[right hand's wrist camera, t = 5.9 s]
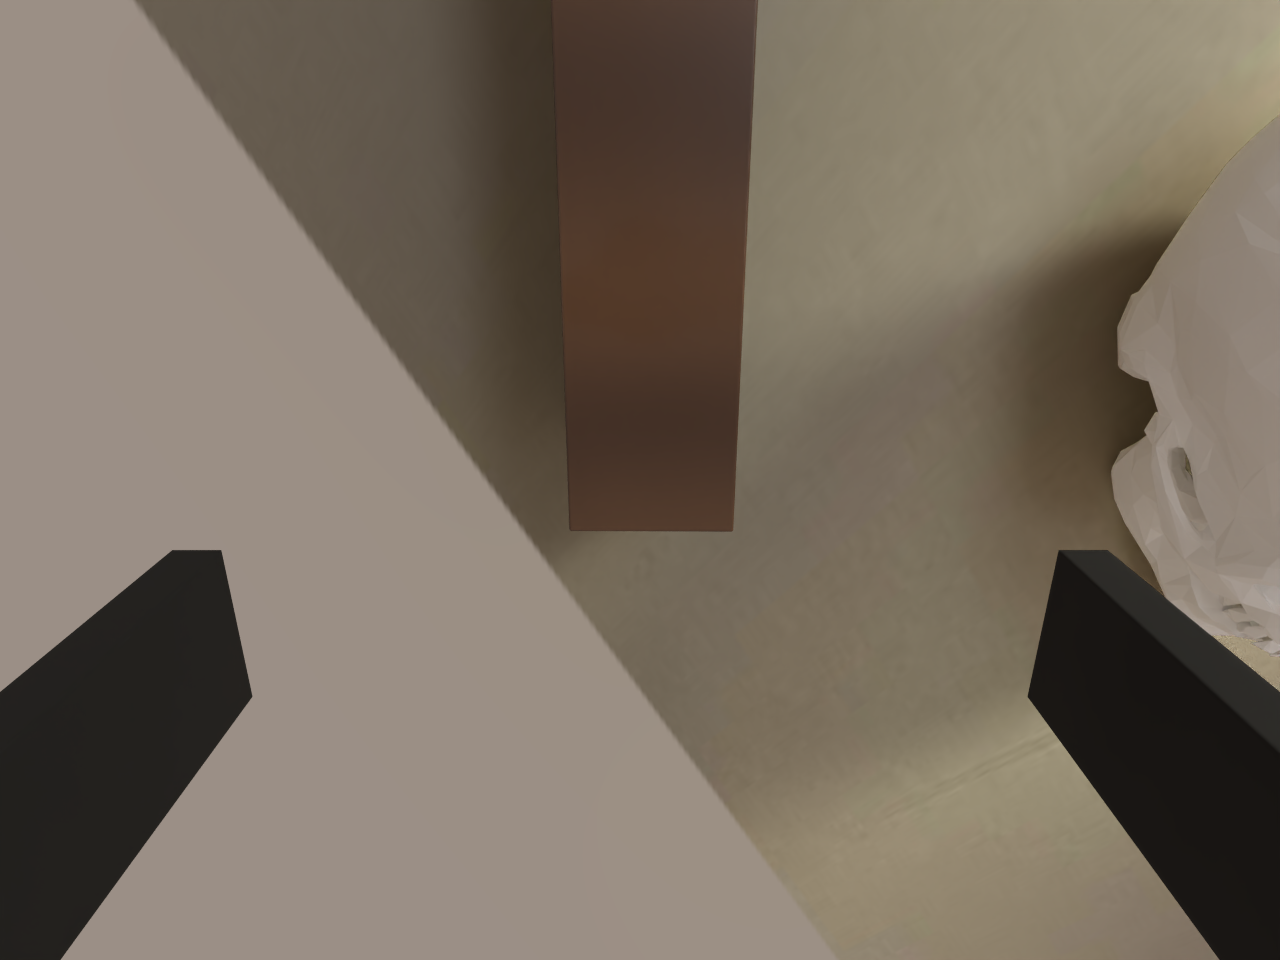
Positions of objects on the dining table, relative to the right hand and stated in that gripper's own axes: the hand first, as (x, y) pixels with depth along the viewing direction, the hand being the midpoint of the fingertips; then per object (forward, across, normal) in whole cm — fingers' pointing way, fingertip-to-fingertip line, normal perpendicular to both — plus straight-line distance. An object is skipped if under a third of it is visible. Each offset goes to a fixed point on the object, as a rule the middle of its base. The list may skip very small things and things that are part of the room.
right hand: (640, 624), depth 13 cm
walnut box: (+20, 0, +8) cm, 22 cm away
